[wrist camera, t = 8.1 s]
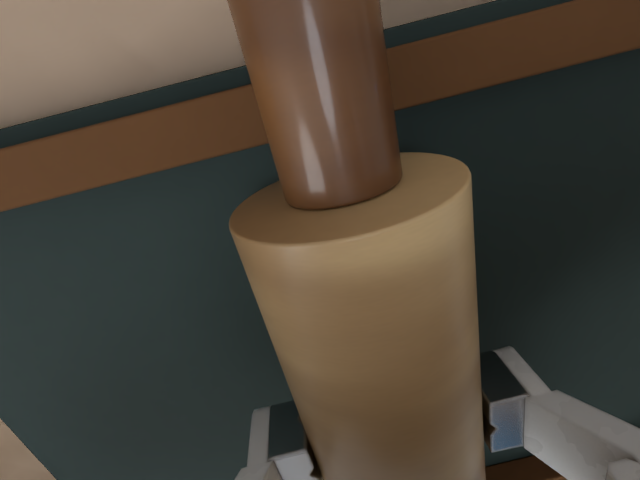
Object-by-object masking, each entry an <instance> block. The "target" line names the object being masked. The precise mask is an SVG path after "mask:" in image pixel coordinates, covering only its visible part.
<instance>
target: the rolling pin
mask: <svg viewBox="0 0 640 480" xmlns="http://www.w3.org/2000/svg"><path fill="white" fill-rule="evenodd" d="M227 1H228V4H229V8H230V11H231V15H232V18H233V22H234V25H235V29H236V32H237V35H238V39H239V42H240V46H241V49H242V53H243V56H244V60H245V63H246V66H247V70H248V73H249V77H250V80H251V84H252V87H253V91H254V94H255V97H256V101H257V104H258V108H259V111H260V115H261V118H262V122H263V125H264V129H265V132H266V135H267V139H268V142H269V146H270V149H271V153H272V156H273V160H274V163H275V166H276V170H277V173H278V177H279V181H277V182H275V183H273V184H271V185H269V186H267V187H265V188H263V189H261V190H259V191H258V192H256V193H254V194H253V195H251V196H250V197H248V198H247V199H246V200H244V201H243V202H242V203H241V204H240V205H239V206H238V207H237V208H236V209H235V210H234V211H233V213H232V215H231V216H230V220H229V229H230V232H231V235H232V237H233V240H234V243H235V245H236V248H237V251H238V253H239V256H240V259H241V261H242V264H243V267H244V269H245V272H246V275H247V277H248V280H249V283H250V285H251V288H252V290H253V293H254V296H255V298H256V301H257V304H258V306H259V309H260V312H261V314H262V317H263V320H264V322H265V325H266V328H267V330H268V333H269V336H270V338H271V341H272V344H273V346H274V349H275V352H276V354H277V357H278V360H279V362H280V365H281V367H282V370H283V373H284V375H285V378H286V381H287V383H288V386H289V389H290V391H291V394H292V397H293V399H294V402H295V405H296V407H297V410H298V413H299V415H300V418H301V421H302V423H303V426H304V429H305V431H306V434H307V437H308V439H309V442H310V444H311V447H312V450H313V452H314V455H315V458H316V460H317V463H318V466H319V468H320V471H321V474H322V476H323V479H324V480H486V474H485V453H484V432H483V411H482V390H481V368H480V347H479V326H478V305H477V284H476V263H475V242H474V221H473V200H472V179H471V172H470V170H469V168H468V167H467V166H466V165H465V164H464V163H463V162H461V161H459V160H458V159H455V158H452V157H449V156H445V155H440V154H433V153H421V152H402V153H400V150H399V143H398V135H397V128H396V120H395V113H394V105H393V98H392V90H391V83H390V75H389V68H388V60H387V53H386V45H385V38H384V30H383V23H382V15H381V8H380V0H227Z"/></svg>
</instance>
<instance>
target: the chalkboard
mask: <svg viewBox="0 0 640 480" xmlns="http://www.w3.org/2000/svg"><path fill="white" fill-rule="evenodd" d="M384 38H385V45H386V53H387V60H388V68H389V75H390V83H391V90H392V98H393V105H394V113H395V120H396V128H397V135H398V143H399V150H400V153H402V152H421V153H433V154H440V155H445V156H449V157H452V158H455V159H458V160H459V161H461V162H463V163H464V164H465V165H466V166H467V167H468V168H469V170H470V172H471V179H472V200H473V221H474V242H475V263H476V284H477V305H478V326H479V347H480V353H483V352H486V351H492V350H495V349H499V348H503V347H507V346H511V347H513V348H514V349H515V350H516V351H517V353H518V354H519V355H520V356H521V357H522V358H523V359H524V361H525V362H526V363H527V364H528V365H529V366H530V367H531V368H532V370H533V371H534V372H535V373H536V374H537V375H538V376H539V377H540V379H541V380H542V381H543V382H544V383H545V384H546V385H547V387H548V388H549V389H550V390H551V391H554V390H559V391H561V392H563V393H565V394H567V395H569V396H571V397H574V398H576V399H578V400H580V401H582V402H584V403H586V404H589V405H591V406H593V407H595V408H597V409H599V410H602V411H604V412H606V413H608V414H610V415H612V416H614V417H617V418H619V419H621V420H623V421H625V422H627V423H629V424H632V425H634V426H636V427H638V428H640V0H496V1H492V2H489V3H485V4H481V5H477V6H473V7H469V8H465V9H462V10H458V11H454V12H450V13H446V14H442V15H438V16H435V17H431V18H427V19H423V20H419V21H415V22H411V23H408V24H404V25H400V26H396V27H392V28H388V29H384ZM277 181H279V177H278V173H277V170H276V166H275V163H274V160H273V156H272V153H271V149H270V146H269V142H268V139H267V135H266V132H265V129H264V125H263V122H262V118H261V115H260V111H259V108H258V104H257V101H256V97H255V94H254V91H253V87H252V84H251V80H250V77H249V73H248V70H247V66H242V67H238V68H234V69H230V70H226V71H223V72H219V73H215V74H211V75H207V76H203V77H199V78H196V79H192V80H188V81H184V82H180V83H176V84H173V85H169V86H165V87H161V88H157V89H153V90H149V91H146V92H142V93H138V94H134V95H130V96H126V97H122V98H119V99H115V100H111V101H107V102H103V103H99V104H95V105H92V106H88V107H84V108H80V109H76V110H72V111H68V112H65V113H61V114H57V115H53V116H49V117H45V118H41V119H38V120H34V121H30V122H26V123H22V124H18V125H15V126H11V127H7V128H3V129H0V418H1V420H2V421H3V422H4V423H5V424H6V425H7V426H8V427H9V428H10V429H11V430H12V431H13V433H14V434H15V435H16V436H17V437H18V438H19V439H20V440H21V441H22V442H23V443H24V445H25V446H26V447H27V448H28V449H29V450H30V451H31V452H32V453H33V454H34V455H35V457H36V458H37V459H38V460H39V461H40V462H41V463H42V464H43V465H44V466H45V467H46V468H47V470H48V471H49V472H50V473H51V474H52V475H53V476H54V477H55V478H56V479H57V480H234V479H235V478H236V476H237V474H238V473H239V471H240V470H241V468H244V467H247V459H248V449H249V439H250V429H251V419H252V414H253V411H254V409H259V408H263V407H267V406H271V405H275V404H280V403H284V402H289V401H293V400H294V399H293V397H292V394H291V391H290V389H289V386H288V383H287V381H286V378H285V375H284V373H283V370H282V367H281V365H280V362H279V360H278V357H277V354H276V352H275V349H274V346H273V344H272V341H271V338H270V336H269V333H268V330H267V328H266V325H265V322H264V320H263V317H262V314H261V312H260V309H259V306H258V304H257V301H256V298H255V296H254V293H253V290H252V288H251V285H250V283H249V280H248V277H247V275H246V272H245V269H244V267H243V264H242V261H241V259H240V256H239V253H238V251H237V248H236V245H235V243H234V240H233V237H232V235H231V232H230V229H229V220H230V216H231V215H232V213H233V211H234V210H235V209H236V208H237V207H238V206H239V205H240V204H241V203H242V202H243V201H244V200H246V199H247V198H248V197H250V196H251V195H253V194H254V193H256V192H258V191H259V190H261V189H263V188H265V187H267V186H269V185H271V184H273V183H275V182H277ZM484 453H485V474H486V480H568V479H566V478H565V477H563V476H562V475H561V474H559V473H558V472H557V471H555V470H554V469H552V468H551V467H550V466H548V465H547V464H546V463H544V462H543V461H541V460H540V459H539V458H537V457H536V456H535V455H533V454H532V453H530V452H529V451H528V450H526V449H525V448H524V446H521V447H516V448H511V449H507V450H502V451H497V452H493V453H491V451H490V449H489V448H488V446H487V444H486V442H485V441H484ZM322 478H323V476H322ZM323 480H324V479H323Z"/></svg>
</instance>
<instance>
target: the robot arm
mask: <svg viewBox="0 0 640 480" xmlns="http://www.w3.org/2000/svg"><path fill="white" fill-rule="evenodd" d="M480 368H481V390H482V411H483V432H484V441H485V442H486V444H487V446H488V448H489V449H490V451H491V453H493V452H497V451H502V450H507V449H511V448H516V447H521V446H524V448H525V449H526V450H528V451H529V452H530V453H532V454H533V455H535V456H536V457H537V458H539V459H540V460H541V461H543V462H544V463H546V464H547V465H548V466H550V467H551V468H552V469H554V470H555V471H557V472H558V473H559V474H561V475H562V476H563V477H565V478H566V479H568V480H640V428H638V427H636V426H634V425H632V424H629V423H627V422H625V421H623V420H621V419H619V418H617V417H614V416H612V415H610V414H608V413H606V412H604V411H602V410H599V409H597V408H595V407H593V406H591V405H589V404H586V403H584V402H582V401H580V400H578V399H576V398H574V397H571V396H569V395H567V394H565V393H563V392H561V391H559V390H554V391H551V390H550V389H549V388H548V387H547V385H546V384H545V383H544V382H543V381H542V380H541V379H540V377H539V376H538V375H537V374H536V373H535V372H534V371H533V370H532V368H531V367H530V366H529V365H528V364H527V363H526V362H525V361H524V359H523V358H522V357H521V356H520V355H519V354H518V353H517V351H516V350H515V349H514V348H513V347H511V346H507V347H503V348H499V349H495V350H492V351H486V352H483V353H480ZM234 480H323V478H322V474H321V471H320V468H319V466H318V463H317V460H316V458H315V455H314V452H313V450H312V447H311V444H310V442H309V439H308V437H307V434H306V431H305V429H304V426H303V423H302V421H301V418H300V415H299V413H298V410H297V407H296V405H295V402H294V400H293V401H289V402H284V403H280V404H275V405H271V406H267V407H263V408H259V409H254V411H253V414H252V419H251V429H250V439H249V449H248V459H247V467H244V468H241V470H240V471H239V473H238V474H237V476H236V478H235V479H234Z"/></svg>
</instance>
